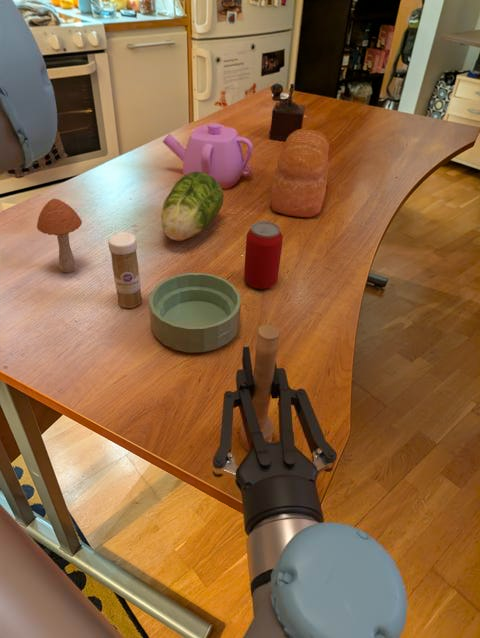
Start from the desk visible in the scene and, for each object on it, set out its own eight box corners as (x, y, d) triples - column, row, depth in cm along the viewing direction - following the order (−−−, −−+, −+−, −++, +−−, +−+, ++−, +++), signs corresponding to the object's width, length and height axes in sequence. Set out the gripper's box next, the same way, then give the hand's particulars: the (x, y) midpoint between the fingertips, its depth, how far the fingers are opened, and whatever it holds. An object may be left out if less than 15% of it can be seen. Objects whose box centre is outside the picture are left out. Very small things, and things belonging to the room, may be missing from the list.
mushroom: (79, 253, 96) (65, 185, 87) (97, 271, 92) (84, 201, 82) (42, 265, 92) (23, 196, 83) (58, 284, 88) (40, 213, 78)
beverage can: (282, 279, 93) (290, 226, 85) (267, 295, 89) (273, 241, 81) (253, 268, 96) (258, 216, 88) (237, 284, 91) (240, 230, 83)
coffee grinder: (271, 129, 163) (276, 73, 151) (302, 132, 162) (309, 76, 150) (264, 144, 151) (269, 84, 140) (298, 148, 150) (306, 88, 138)
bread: (266, 214, 114) (271, 153, 104) (280, 173, 134) (286, 119, 124) (320, 222, 112) (331, 161, 102) (327, 179, 132) (337, 125, 122)
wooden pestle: (241, 453, 62) (251, 345, 49) (238, 426, 65) (247, 318, 52) (273, 451, 62) (292, 344, 49) (269, 425, 65) (285, 317, 52)
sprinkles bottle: (122, 312, 83) (113, 247, 74) (114, 298, 86) (103, 234, 77) (146, 304, 85) (140, 241, 76) (137, 291, 88) (129, 228, 79)
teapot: (259, 184, 127) (263, 130, 118) (191, 197, 119) (190, 141, 109) (226, 159, 140) (227, 109, 130) (162, 170, 131) (158, 118, 122)
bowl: (149, 357, 74) (146, 329, 71) (154, 299, 86) (152, 272, 82) (242, 355, 76) (244, 327, 72) (235, 298, 87) (236, 272, 84)
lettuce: (148, 249, 99) (144, 200, 92) (181, 207, 114) (180, 163, 107) (199, 258, 97) (199, 210, 90) (226, 215, 113) (227, 170, 105)
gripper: (202, 554, 45) (198, 374, 62) (357, 544, 46) (310, 371, 64) (202, 517, 40) (198, 333, 57) (375, 507, 41) (319, 331, 59)
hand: (257, 354), depth 61 cm, fingers closed on wooden pestle, 2 cm apart
